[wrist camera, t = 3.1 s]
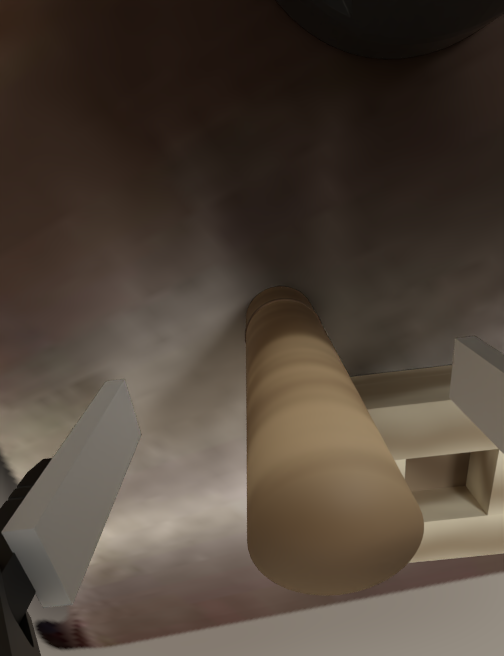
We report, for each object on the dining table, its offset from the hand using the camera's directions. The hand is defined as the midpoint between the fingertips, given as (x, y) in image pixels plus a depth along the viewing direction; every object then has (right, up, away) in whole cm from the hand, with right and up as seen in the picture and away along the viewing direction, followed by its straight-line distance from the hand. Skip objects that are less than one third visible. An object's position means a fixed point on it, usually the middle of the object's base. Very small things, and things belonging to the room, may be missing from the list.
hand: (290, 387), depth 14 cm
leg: (0, +3, +7) cm, 7 cm away
